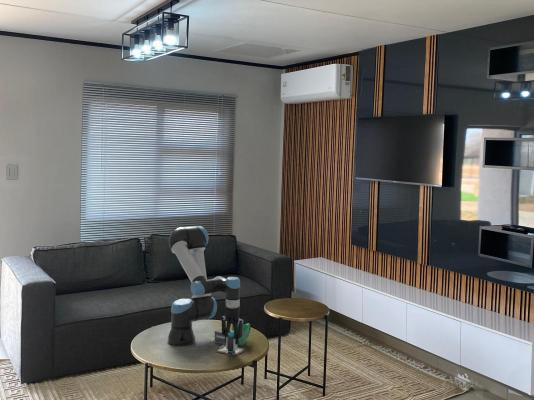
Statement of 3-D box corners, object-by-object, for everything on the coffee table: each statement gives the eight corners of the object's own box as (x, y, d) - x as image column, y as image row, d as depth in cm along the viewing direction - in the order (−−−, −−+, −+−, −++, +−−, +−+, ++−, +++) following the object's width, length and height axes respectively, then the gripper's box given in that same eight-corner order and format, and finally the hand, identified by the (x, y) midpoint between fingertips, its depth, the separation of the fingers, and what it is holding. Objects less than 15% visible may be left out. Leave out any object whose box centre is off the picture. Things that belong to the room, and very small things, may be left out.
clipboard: (215, 351, 307) (215, 349, 307) (225, 345, 316) (226, 343, 316) (235, 356, 301) (235, 354, 301) (246, 350, 310) (246, 347, 310)
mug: (243, 347, 314) (243, 330, 313) (228, 344, 318) (228, 327, 317) (256, 340, 327) (256, 323, 326) (241, 337, 331) (241, 320, 330)
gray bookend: (213, 342, 322) (213, 331, 321) (216, 340, 324) (216, 330, 324) (225, 344, 318) (225, 334, 317) (228, 343, 320) (228, 332, 320)
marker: (230, 350, 307) (230, 330, 306) (236, 351, 305) (237, 331, 304) (225, 352, 304) (226, 332, 303) (232, 354, 302) (233, 333, 301)
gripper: (215, 305, 303) (214, 348, 305) (242, 310, 295) (241, 354, 297) (222, 302, 310) (222, 344, 312) (249, 307, 302) (248, 350, 304)
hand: (231, 349), depth 304 cm, fingers closed on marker, 4 cm apart
